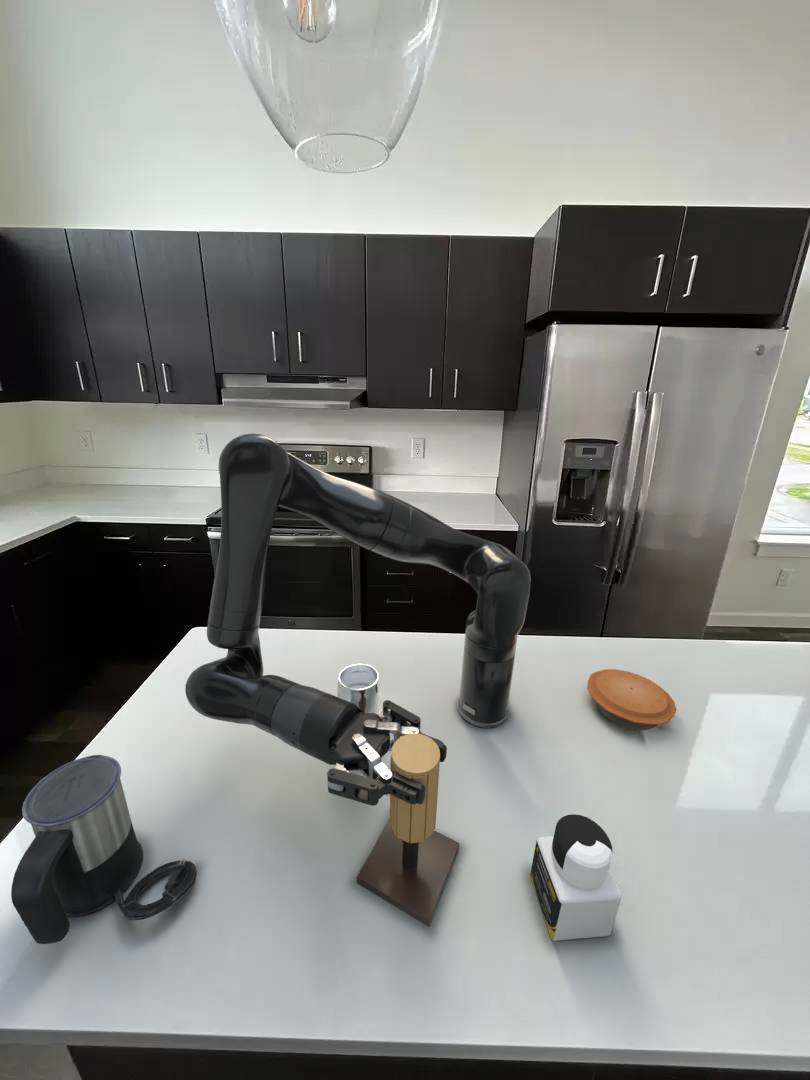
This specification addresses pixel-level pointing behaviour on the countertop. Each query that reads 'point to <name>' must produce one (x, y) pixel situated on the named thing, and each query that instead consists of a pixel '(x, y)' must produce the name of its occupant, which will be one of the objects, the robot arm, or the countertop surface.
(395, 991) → the countertop surface
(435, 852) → the peg stand
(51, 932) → the milk frother
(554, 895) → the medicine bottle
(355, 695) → the chrome tumbler
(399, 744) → the grooved tan cylinder
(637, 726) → the pie
